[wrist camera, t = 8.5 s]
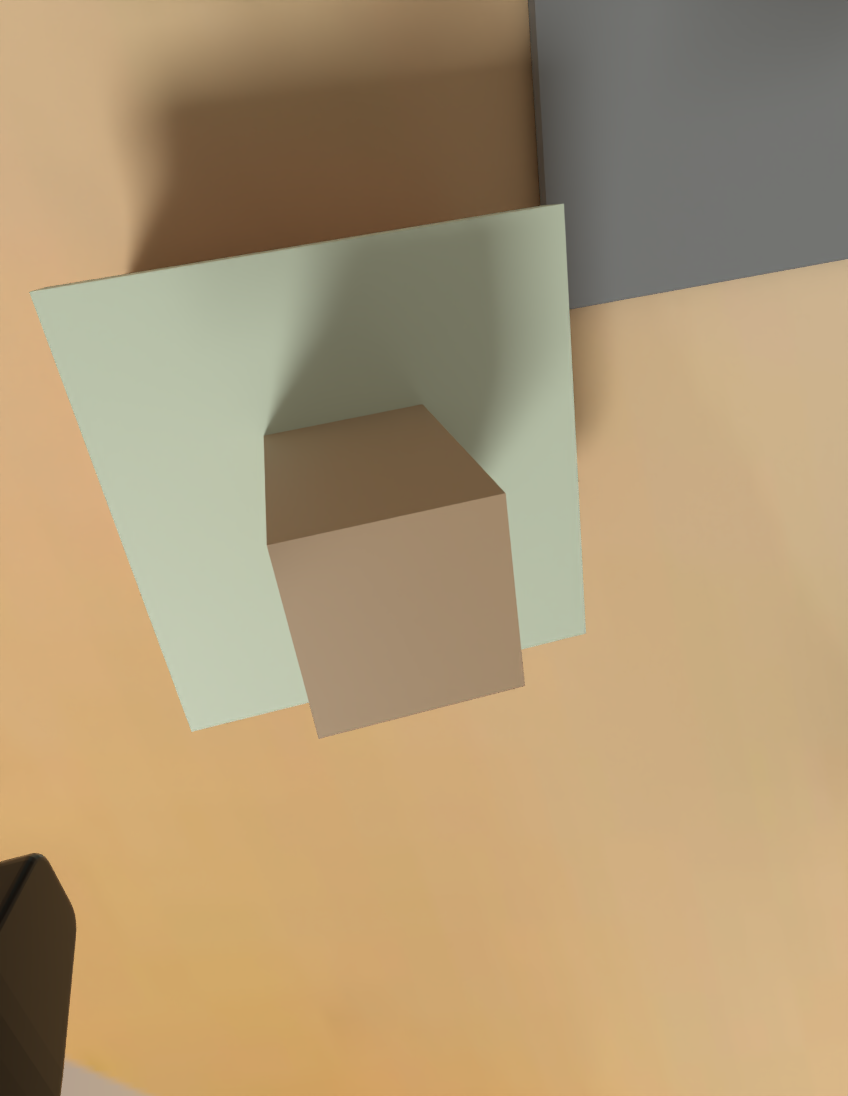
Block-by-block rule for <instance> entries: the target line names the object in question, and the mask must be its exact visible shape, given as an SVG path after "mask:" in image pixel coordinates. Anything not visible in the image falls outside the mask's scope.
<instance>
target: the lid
mask: <svg viewBox="0 0 848 1096" xmlns="http://www.w3.org/2000/svg"><path fill="white" fill-rule="evenodd" d="M30 295H31V298H32V301H33V303H34V306H35V309H36V311H37V314H38V317H39V319H40V322H41V325H42V328H43V330H44V333H45V336H46V338H47V341H48V344H49V347H50V349H51V352H52V355H53V357H54V360H55V363H56V366H57V368H58V371H59V374H60V376H61V379H62V382H63V384H64V387H65V390H66V393H67V395H68V398H69V401H70V403H71V406H72V409H73V412H74V414H75V417H76V420H77V422H78V425H79V428H80V431H81V433H82V436H83V439H84V441H85V444H86V447H87V449H88V452H89V455H90V458H91V460H92V463H93V466H94V468H95V471H96V474H97V477H98V479H99V482H100V485H101V487H102V490H103V493H104V496H105V498H106V501H107V504H108V506H109V509H110V512H111V515H112V517H113V520H114V523H115V525H116V528H117V531H118V533H119V536H120V539H121V542H122V544H123V547H124V550H125V552H126V555H127V558H128V561H129V563H130V566H131V569H132V571H133V574H134V577H135V580H136V582H137V585H138V588H139V590H140V593H141V596H142V598H143V601H144V604H145V607H146V609H147V612H148V615H149V617H150V620H151V623H152V626H153V628H154V631H155V634H156V636H157V639H158V642H159V645H160V647H161V650H162V653H163V655H164V658H165V661H166V664H167V666H168V669H169V672H170V674H171V677H172V680H173V682H174V685H175V688H176V691H177V693H178V696H179V699H180V701H181V704H182V707H183V710H184V712H185V715H186V718H187V720H188V723H189V726H190V729H191V731H196V730H200V729H204V728H209V727H213V726H217V725H221V724H225V723H229V722H233V721H237V720H241V719H245V718H249V717H253V716H257V715H261V714H265V713H269V712H273V711H277V710H281V709H285V708H289V707H293V706H297V705H301V704H305V703H309V704H310V708H311V712H312V716H313V719H314V723H315V727H316V730H317V734H318V738H319V739H320V738H324V737H328V736H332V735H335V734H339V733H343V732H347V731H351V730H355V729H359V728H363V727H367V726H371V725H374V724H378V723H382V722H386V721H390V720H394V719H398V718H402V717H406V716H410V715H413V714H417V713H421V712H425V711H429V710H433V709H437V708H441V707H445V706H448V705H452V704H456V703H460V702H464V701H468V700H472V699H476V698H480V697H484V696H487V695H491V694H495V693H499V692H503V691H507V690H511V689H515V688H519V687H523V686H525V682H524V672H523V662H522V652H521V649H525V648H529V647H533V646H537V645H541V644H545V643H549V642H553V641H557V640H561V639H565V638H569V637H573V636H577V635H581V634H585V633H586V628H585V608H584V588H583V569H582V549H581V529H580V510H579V490H578V470H577V451H576V431H575V411H574V392H573V372H572V353H571V333H570V313H569V294H568V274H567V254H566V235H565V215H564V204H552V205H542V206H535V207H529V208H523V209H517V210H511V211H505V212H499V213H493V214H487V215H481V216H475V217H469V218H463V219H457V220H451V221H445V222H438V223H432V224H426V225H420V226H414V227H408V228H402V229H396V230H390V231H384V232H378V233H372V234H366V235H360V236H354V237H347V238H341V239H335V240H329V241H323V242H317V243H311V244H305V245H299V246H293V247H287V248H281V249H275V250H269V251H263V252H257V253H250V254H244V255H238V256H232V257H226V258H220V259H214V260H208V261H202V262H196V263H190V264H184V265H178V266H172V267H166V268H160V269H153V270H147V271H141V272H135V273H129V274H123V275H117V276H111V277H105V278H99V279H93V280H87V281H81V282H75V283H69V284H63V285H56V286H50V287H45V288H42V289H38V290H34V291H31V292H30Z"/></svg>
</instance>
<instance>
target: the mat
mask: <svg viewBox="0 0 848 1096" xmlns="http://www.w3.org/2000/svg"><path fill="white" fill-rule="evenodd" d="M528 9H529V26H530V42H531V59H532V75H533V91H534V108H535V124H536V141H537V157H538V174H539V190H540V206H542V205H552V204H564V215H565V235H566V254H567V274H568V294H569V309H575V308H580V307H586V306H591V305H597V304H602V303H608V302H613V301H619V300H624V299H630V298H635V297H641V296H646V295H652V294H657V293H663V292H668V291H674V290H679V289H685V288H690V287H696V286H701V285H707V284H712V283H718V282H723V281H729V280H734V279H740V278H745V277H751V276H756V275H762V274H767V273H773V272H778V271H784V270H789V269H795V268H800V267H806V266H811V265H817V264H822V263H828V262H833V261H839V260H844V259H848V0H528Z"/></svg>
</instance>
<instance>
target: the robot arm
mask: <svg viewBox="0 0 848 1096" xmlns="http://www.w3.org/2000/svg"><path fill="white" fill-rule="evenodd" d="M75 940H76V919H75V913H74V910H73V907H72V905H71V903H70V901H69V899H68V897H67V895H66V893H65V891H64V889H63V887H62V886H61V884H60V882H59V880H58V878H57V876H56V874H55V872H54V870H53V869H52V867H51V865H50V863H49V861H48V860H47V859H46V857H44V856H43V855H41V854H38V853H32V854H28V855H24V856H20V857H16V858H12V859H8V860H4V861H1V862H0V1096H60V1095H61V1087H62V1078H63V1069H64V1058H65V1048H66V1037H67V1026H68V1015H69V1004H70V994H71V983H72V972H73V961H74V951H75Z"/></svg>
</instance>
